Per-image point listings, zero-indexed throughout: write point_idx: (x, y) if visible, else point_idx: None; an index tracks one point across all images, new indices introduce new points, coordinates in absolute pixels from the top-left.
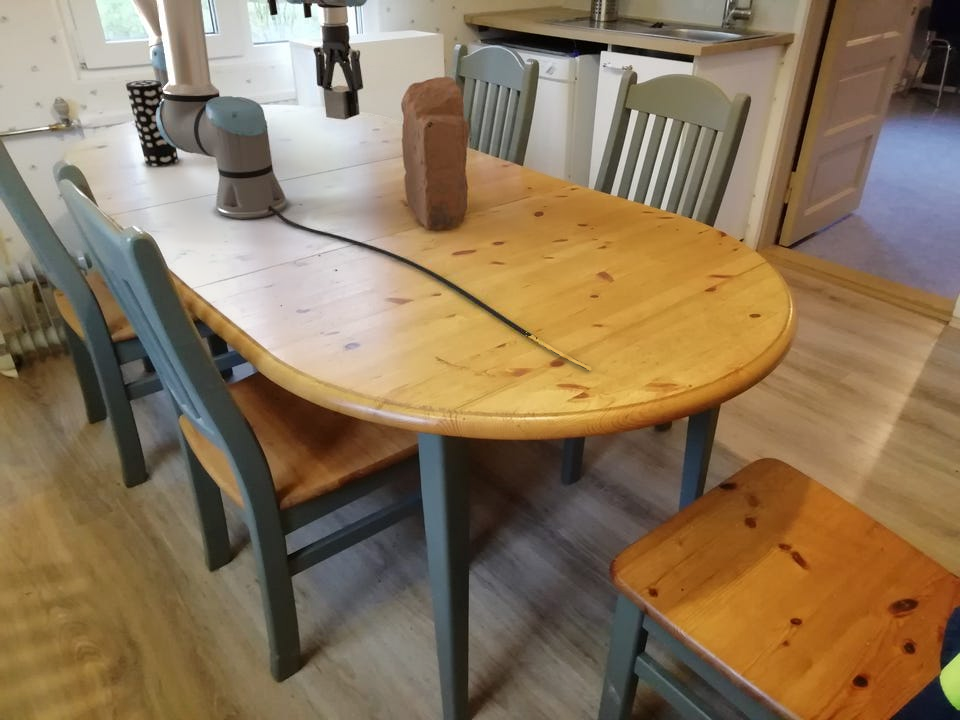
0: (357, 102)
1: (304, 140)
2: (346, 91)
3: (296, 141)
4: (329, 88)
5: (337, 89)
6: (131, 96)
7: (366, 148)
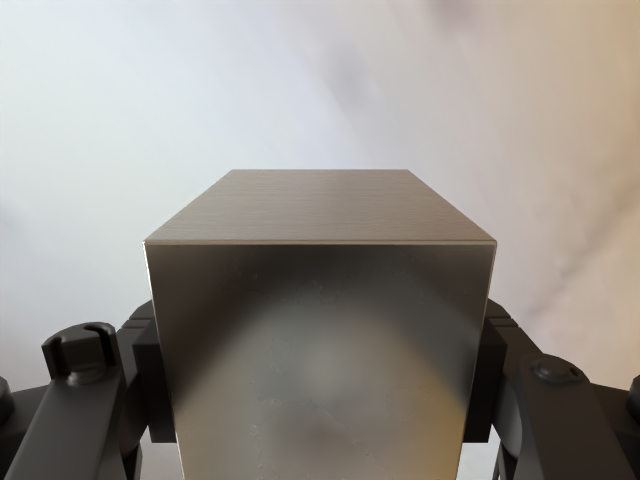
0: (494, 307)
1: (61, 187)
2: (457, 460)
3: (46, 218)
4: (187, 445)
5: (311, 448)
6: None
7: (412, 166)
